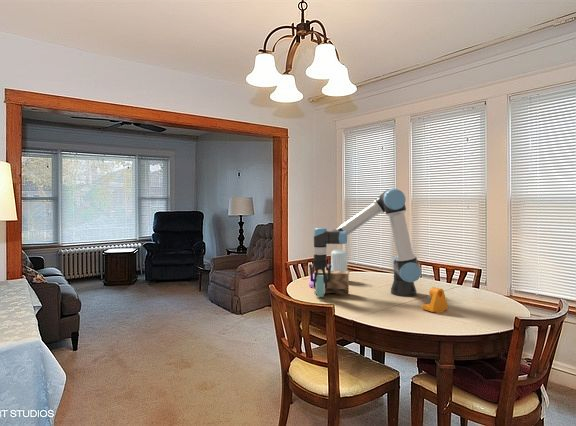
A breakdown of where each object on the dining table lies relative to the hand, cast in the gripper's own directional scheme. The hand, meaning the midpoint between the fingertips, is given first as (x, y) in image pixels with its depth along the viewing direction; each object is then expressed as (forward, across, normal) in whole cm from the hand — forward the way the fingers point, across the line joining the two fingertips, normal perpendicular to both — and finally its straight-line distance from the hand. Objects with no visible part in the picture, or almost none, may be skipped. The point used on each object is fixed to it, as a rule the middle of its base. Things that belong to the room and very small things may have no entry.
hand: (320, 293), depth 221 cm
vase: (+3, -7, -48) cm, 49 cm away
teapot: (+3, +4, -26) cm, 27 cm away
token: (+3, +3, -7) cm, 8 cm away
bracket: (+3, -62, +14) cm, 63 cm away
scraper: (+2, 0, -4) cm, 4 cm away
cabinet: (+3, -6, -9) cm, 11 cm away
